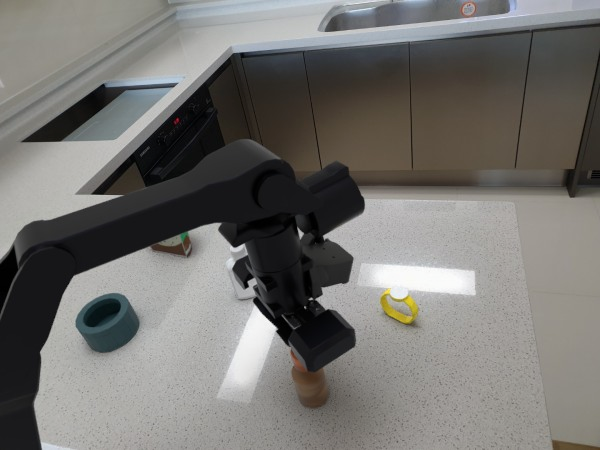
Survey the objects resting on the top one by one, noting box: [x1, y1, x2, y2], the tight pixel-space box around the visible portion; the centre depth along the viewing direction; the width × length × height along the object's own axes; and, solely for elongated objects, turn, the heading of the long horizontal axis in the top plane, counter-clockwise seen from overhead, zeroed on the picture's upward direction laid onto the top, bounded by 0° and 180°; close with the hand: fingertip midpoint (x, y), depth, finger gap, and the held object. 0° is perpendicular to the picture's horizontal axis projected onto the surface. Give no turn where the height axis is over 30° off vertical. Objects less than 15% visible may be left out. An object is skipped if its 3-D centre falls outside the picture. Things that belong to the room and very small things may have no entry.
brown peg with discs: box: [289, 348, 307, 372], centre depth 58 cm, size 3×3×8 cm
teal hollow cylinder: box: [75, 292, 140, 353], centre depth 80 cm, size 9×9×5 cm
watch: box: [379, 285, 419, 325], centre depth 71 cm, size 6×3×6 cm, turn 50°
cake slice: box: [149, 231, 193, 259], centre depth 95 cm, size 12×6×10 cm, turn 66°
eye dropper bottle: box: [225, 244, 257, 300], centre depth 80 cm, size 4×6×12 cm
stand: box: [291, 365, 330, 409], centre depth 63 cm, size 4×4×6 cm
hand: (300, 345), depth 58 cm, fingers closed on brown peg with discs, 2 cm apart
